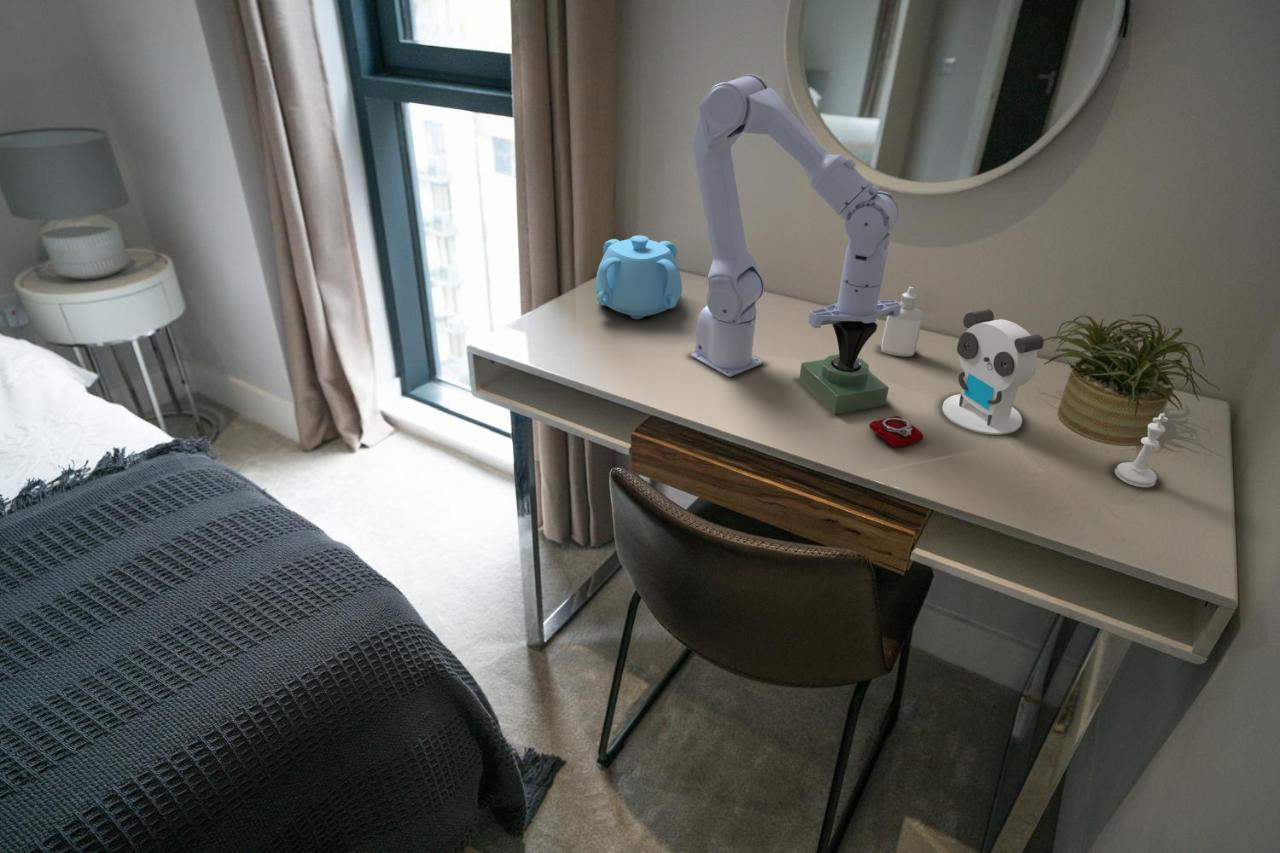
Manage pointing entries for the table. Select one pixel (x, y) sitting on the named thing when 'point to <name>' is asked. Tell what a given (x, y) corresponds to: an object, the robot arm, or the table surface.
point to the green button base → (843, 386)
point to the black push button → (840, 366)
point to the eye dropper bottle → (903, 328)
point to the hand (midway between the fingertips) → (846, 362)
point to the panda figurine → (991, 373)
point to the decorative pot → (638, 276)
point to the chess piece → (1143, 458)
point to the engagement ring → (896, 431)
